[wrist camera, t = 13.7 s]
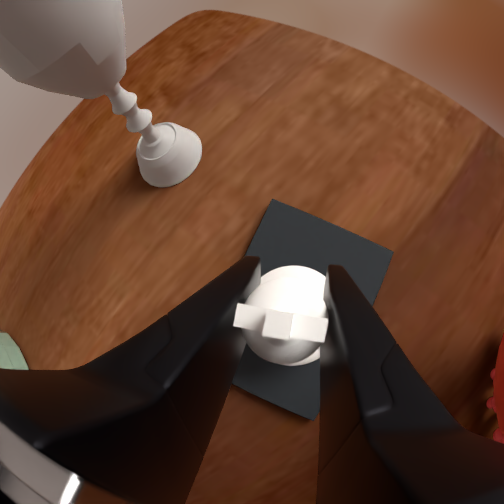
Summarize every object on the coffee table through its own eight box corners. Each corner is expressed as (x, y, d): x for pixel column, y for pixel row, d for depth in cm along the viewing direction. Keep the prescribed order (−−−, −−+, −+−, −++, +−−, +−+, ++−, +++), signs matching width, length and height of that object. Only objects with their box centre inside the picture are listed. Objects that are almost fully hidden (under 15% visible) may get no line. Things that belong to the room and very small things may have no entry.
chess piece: (332, 372, 14) (383, 472, 4) (235, 354, 14) (125, 416, 5) (350, 274, 14) (433, 204, 5) (253, 258, 15) (173, 169, 6)
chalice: (112, 178, 21) (-65, 42, 4) (159, 109, 22) (37, -58, 4) (183, 215, 19) (-49, 17, 2) (234, 133, 20) (125, -109, 3)
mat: (313, 417, 16) (313, 421, 15) (196, 360, 18) (193, 362, 17) (391, 253, 17) (393, 251, 16) (273, 201, 19) (272, 198, 18)
